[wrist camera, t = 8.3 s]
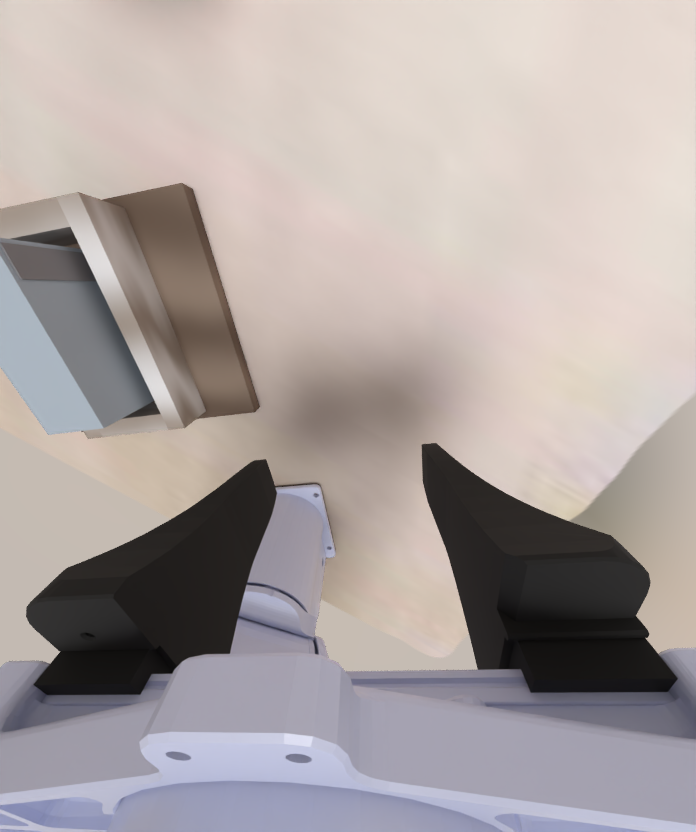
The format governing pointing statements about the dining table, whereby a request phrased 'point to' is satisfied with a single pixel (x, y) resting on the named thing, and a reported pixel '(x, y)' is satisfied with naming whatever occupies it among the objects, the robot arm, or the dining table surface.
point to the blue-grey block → (63, 340)
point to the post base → (153, 298)
